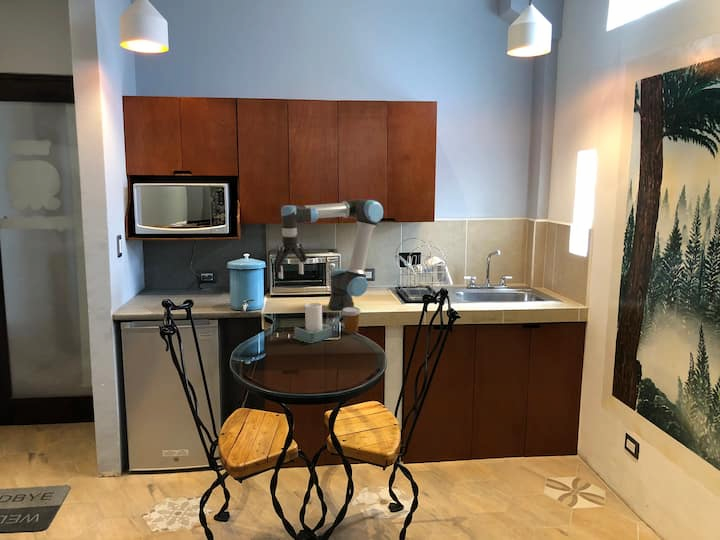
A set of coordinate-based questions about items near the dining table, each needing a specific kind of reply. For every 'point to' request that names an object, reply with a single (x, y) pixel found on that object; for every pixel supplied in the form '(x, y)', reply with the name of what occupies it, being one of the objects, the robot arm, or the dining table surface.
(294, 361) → the dining table surface
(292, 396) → the dining table surface
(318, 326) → the cup
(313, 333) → the end holder
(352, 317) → the disposable coffee cup
